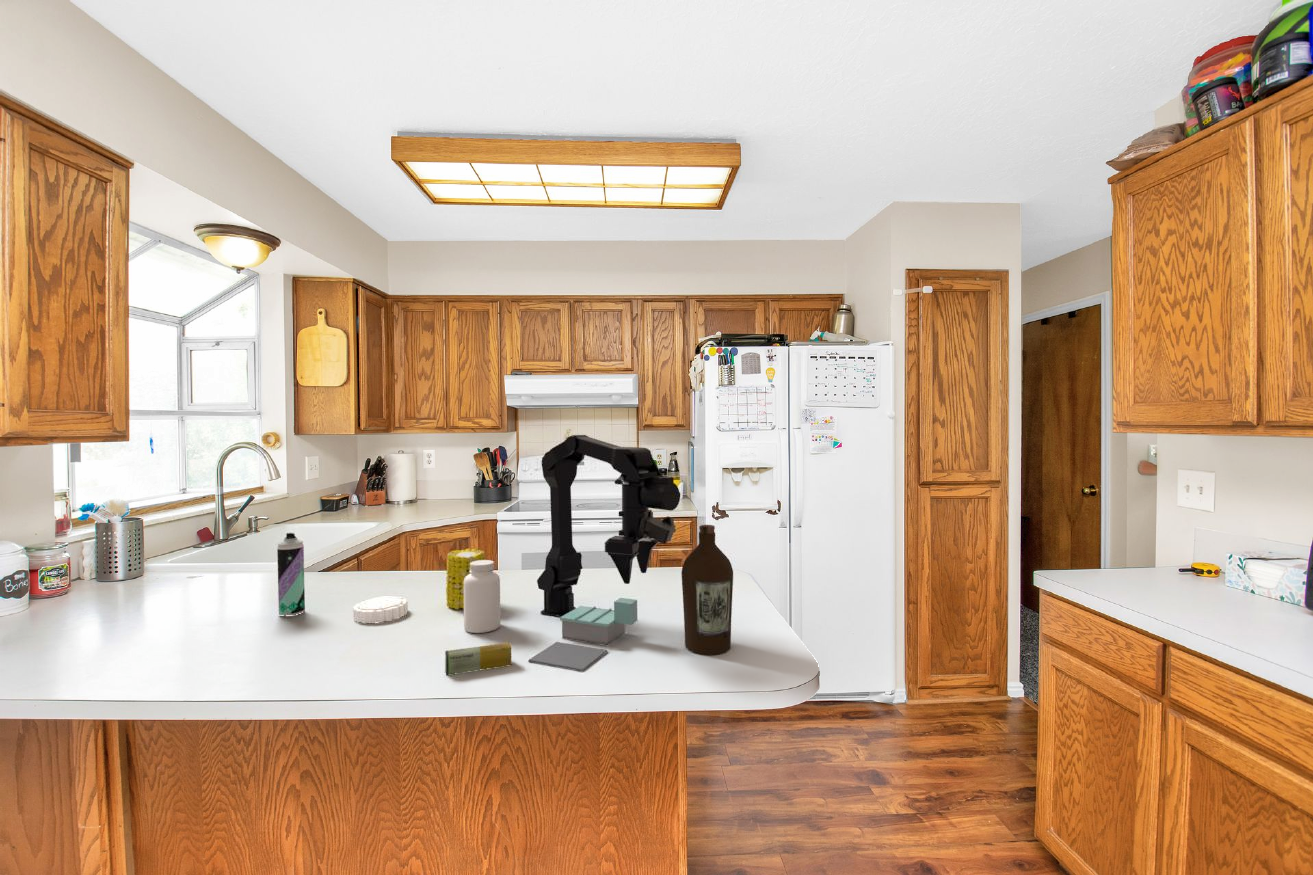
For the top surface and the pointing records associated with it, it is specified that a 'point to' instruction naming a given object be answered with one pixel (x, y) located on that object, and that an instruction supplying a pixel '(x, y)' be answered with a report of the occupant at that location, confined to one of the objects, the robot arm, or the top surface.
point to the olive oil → (707, 596)
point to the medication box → (477, 658)
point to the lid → (605, 614)
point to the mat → (568, 656)
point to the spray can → (291, 575)
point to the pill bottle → (481, 598)
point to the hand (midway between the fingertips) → (635, 578)
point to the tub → (591, 632)
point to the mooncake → (380, 609)
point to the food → (459, 574)
